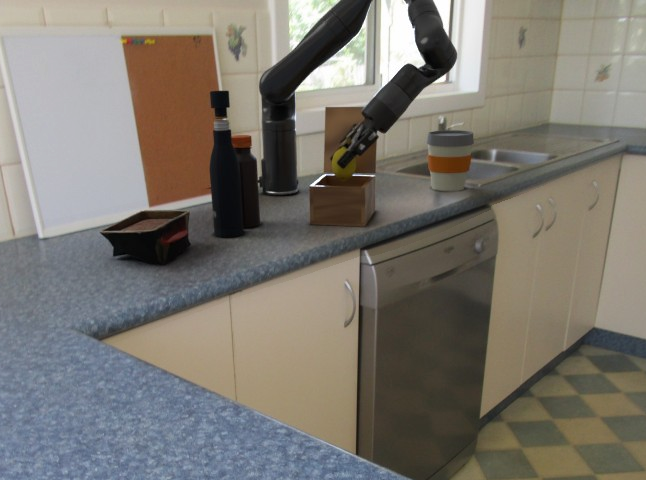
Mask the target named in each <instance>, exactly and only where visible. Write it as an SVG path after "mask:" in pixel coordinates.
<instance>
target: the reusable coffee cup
mask: <svg viewBox="0 0 646 480" xmlns="http://www.w3.org/2000/svg"><path fill="white" fill-rule="evenodd" d="M426 139H427V140H426V144H427V147H428V148H427V149H428V153H427V154H426V155H427V166H428V171H429V173H430V185H431V189H432V190H434V191H440V192H442V191H443V192H458V191H462V190H464V189H465V186H466V180H467V177H468V172H469V171H470V168H471V163H472V157H473V153H472V148H473V145H474V143H475V141H474V140H475V138H474V132H473V131H469V130H459V129H457V130H456V129H447V130H446V129H443V130H433V131H429V132H427V138H426Z"/></svg>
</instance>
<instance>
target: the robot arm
mask: <svg viewBox="0 0 646 480" xmlns="http://www.w3.org/2000/svg"><path fill="white" fill-rule="evenodd" d="M373 1H374V0H339V1H338V2H336V3H335V4H334V5H333V6H332V7H331V8H330V9H329V10H327V12H325V14H323V15H322V16H321V18H320V19H318V20H317V21H316V23H315V24H314V25H313V26H311V28H310V29H309V30H308V31H307V33H305V35H304V36H303V37H302V39H301V40H300V41H299V42H298V44H297V45H296V46H295V47H294V48H293V49H292V50H291V51H290V52H289V53H287V55H285V56H284V57H282V59H280V60H279V61H278V62H276V63H275V64H273V66H271V67H269V68H268V69H266V70H265V71H264V72H263V73H262V74H261V76H260V78H259V81H258V91H259V94H260V98H261V99H260V100H261V136H262V137H261V139H262V158H261V160H260V169H261V175H260V176H258V187H259V188H262V189H261V190H262V195H268V196H269V195H270V196H290V195H294V194H297V193H299V180H298V152H297V109H296V108H297V105H296V104H297V103H296V91H297V89H298V88H299V87H300V86H301V85H302V83H304V82H305V81H306V79H307V78H308V77H309V76H310V75H311V74H312V73H313V72H314V71H315V70H317V69H318V68H319V67H322V65H324V64H325V63H327V62H328V61H330V59H332V58H333V57H334V56H336V55H337V54H338V53H339V52H342V50H343V49H344V48H345V47H346V46H348V45H349V44H350V43H351V42H352V41H353V40H354V39H355V38H356V37H357V36H358V35H359V34H360V32H361V31H362V28H363V27H364V24H365V21H366V19H367V16H368V13H369V11H370V8H371V5H372V3H373ZM402 1H403V2H404V4H405V6H406V17H407V18H406V19H407V21H408V24H409V27H410V30H411V33H412V35H413V42H414V43H413V44H414V45H415V48H416V51H417V52H418V54H419V56H420V57H421V59H422V60H423V62H424V63H423V64H422V65H421V66H418V67H417V66H416V65H414V64H413V63H405V64H403V65H402V66H401V67H400V68H399V69H398V70H397V71H396V72H395V73H394V75H392V77H391V78H390V79H389V80H388V82H386V83H385V84H384V85H382V87H381V88H380V89H379V90H378V91H377V92H376V93H375V95H374V96H372V98H371V99H370V100H369V102H367V103H366V105H365V106H363V107H364V108H363V109H362V111H361V113H362V115H363V116H364V118H365V119H364V121H362V122H361V123H360V124H356V123H355V124H353V126H352V127H351V128H350V130H349V131H348V132H347V133H346V135H345V136H344V137H343V138H342V140H341V141H340V147H339V148H338V149H337V150H339V149H341V148H342V147H346V148H347V149H348V150H347V151H346V152H345V153H344V154H343V155H342V156H341V157H340V159H339V160H338V161H337V164H338V165H339V166H340V167H341V168H342V169H344V168H345V167H346V166H347V165H348V164H349V163H350V162H351V161H352V159H353V158H354V157H357V156H358V155H359V156H361V155H362V154H363V153H364V152H365V151H366V150H367V149H368V148H369V147H370V146H371V145H372V144H373V143H374V142H375V141H376V140H377V141H378V140H379V138H380V136H379V135H378V132H379V133H380V134H382V135H383V134H386V133H388V131H389V130H390V129H391V128H392V127H393V126H394V125H395V124H396V123H397V121H398V120H399V119H400V118H401V117H402V116H403V114H404V113H406V111H407V110H408V108H409V106H411V104H412V103H413V102H414V101H415V99H417V97H418V96H419V95H420V94H421V93H422V92H423V91H424V90H425V88H428V87H429V86H431V85H432V84H433V83H435V82H436V81H438V80H439V79H440V78H443V77H444V76H445V75H446V74H448V73H449V72H450V71H451V70H452V69H453V68H454V67H455V65H456V62H457V60H458V51H457V49H456V47H455V46H454V43H453V42H452V40H451V39H450V37H449V35H448V33H447V31H446V29H445V28H444V22H443V19H442V16H441V14H440V12H439V9H438V7H437V5H436V3H435V1H434V0H402ZM376 133H377V134H376ZM347 142H349V144H348V143H347ZM362 144H363V145H362ZM334 154H335V153H334ZM334 154H333V155H332V156H331V157H330V160H331V161H332V159H333V156H334Z"/></svg>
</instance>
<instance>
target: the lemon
mask: <svg viewBox="0 0 646 480" xmlns="http://www.w3.org/2000/svg"><path fill="white" fill-rule="evenodd" d="M347 150H348V149H347V148H346V147H342V148H341V149H339V150H337V151H336V152H335V154H334V156H333V159H332V170H333V173H332V174H333V175H335V176H336V177H338V178H340V179H341V180H342V181H343V182H345V181H346V180H347V179H348V178H350V177H351V176H352V175H355V173H354V172H355V169H356V160H355V157H354V158H353V159H352V161H351V162H350V163H349V164H348V165H347V166H346V167H345V168H344V169H342V168H341V167H340V166H339V165H338V164H337V161H338V160H339V159H340V157H341V156H342V155H343V154H344V153H345V152H346V151H347Z"/></svg>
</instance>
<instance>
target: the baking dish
mask: <svg viewBox="0 0 646 480" xmlns="http://www.w3.org/2000/svg"><path fill="white" fill-rule="evenodd" d="M190 212H191V211H190V210H188V209H145V210H140V211H138V212H135V213H133V214H132V215H130V216H127V217H125V218H123V219H121V220H119V221H117V222H115V223H113V224H111V225H109V226H107V227H105V228H103V229H101V230H100V231H99V234H100V235H101V236H102V237H104V238H105V239H106V240H107V241H108V242H109V243H110V245H111V246H112V247H113V249H112V258H116V257H121V256H122V257H123V256H129V257H132V258H135V259H137V260H140V261H142V262H145V263H147V264H150V265H151V264H152V265H160V266H164V265H166V264H167V263H169V262H171V261H172V260H174V259H175V258H177V257H178V256H179V255H180V254H182V253H183V252H184V251H185V250H187V249H188V248H189V247H190V246H191V245H192V244H191V242H190V239H189V224H190V223H189V222H190Z"/></svg>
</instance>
